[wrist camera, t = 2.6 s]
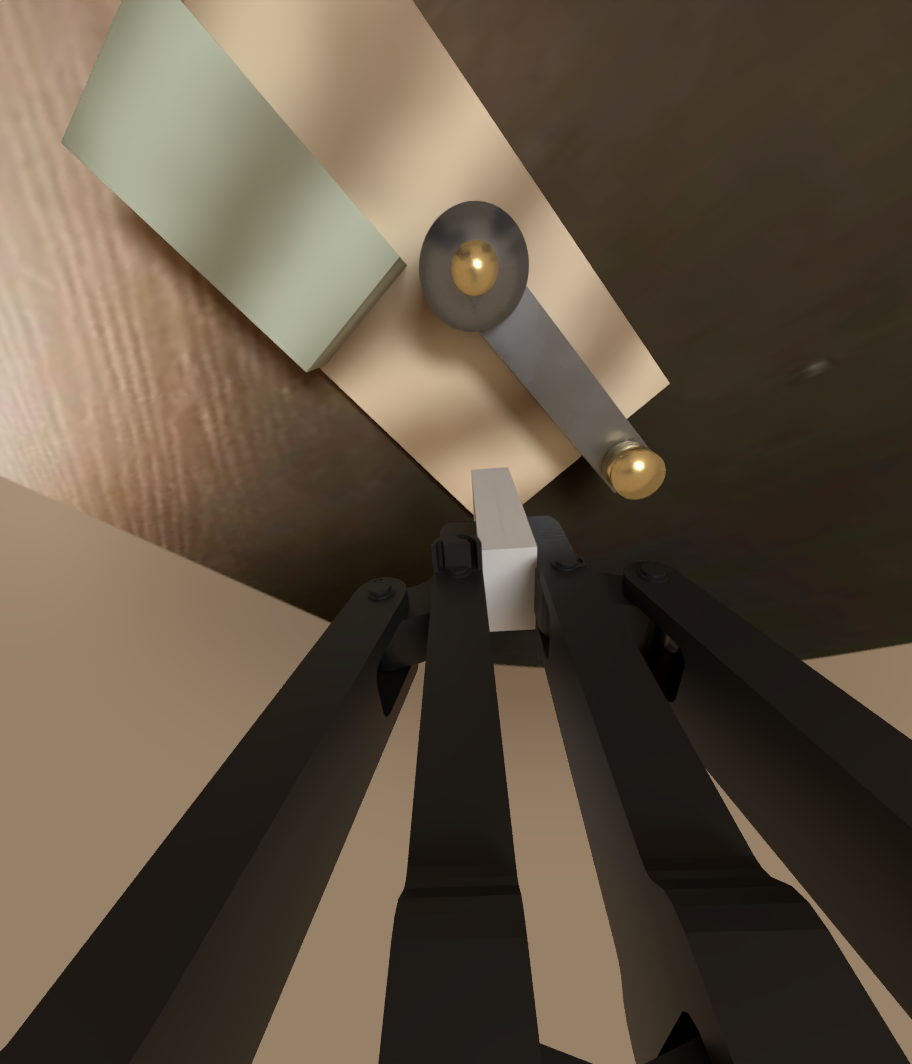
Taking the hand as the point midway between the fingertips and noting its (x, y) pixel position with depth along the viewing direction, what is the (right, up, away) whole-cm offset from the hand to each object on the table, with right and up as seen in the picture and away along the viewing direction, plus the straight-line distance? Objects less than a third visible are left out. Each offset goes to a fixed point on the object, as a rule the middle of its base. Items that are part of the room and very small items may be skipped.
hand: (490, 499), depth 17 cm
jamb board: (-3, +11, +4) cm, 12 cm away
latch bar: (+3, +7, +4) cm, 9 cm away
